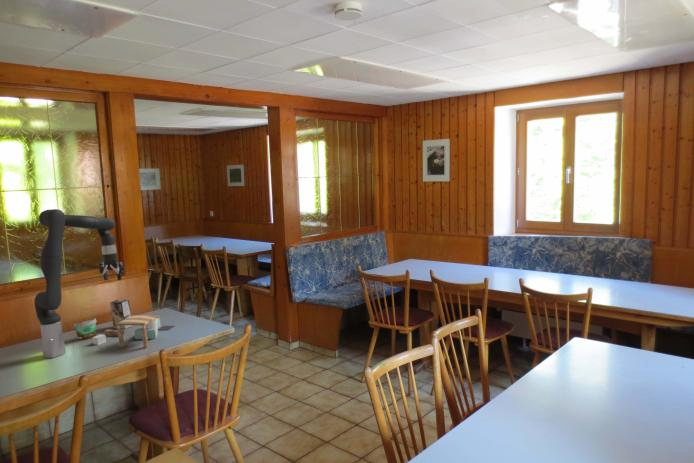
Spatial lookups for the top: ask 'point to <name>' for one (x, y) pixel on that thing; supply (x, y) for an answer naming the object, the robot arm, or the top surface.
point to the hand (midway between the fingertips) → (113, 280)
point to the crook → (150, 333)
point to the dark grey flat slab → (165, 328)
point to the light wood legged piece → (136, 320)
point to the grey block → (99, 339)
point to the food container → (86, 329)
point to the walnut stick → (112, 332)
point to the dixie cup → (152, 325)
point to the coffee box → (120, 312)
